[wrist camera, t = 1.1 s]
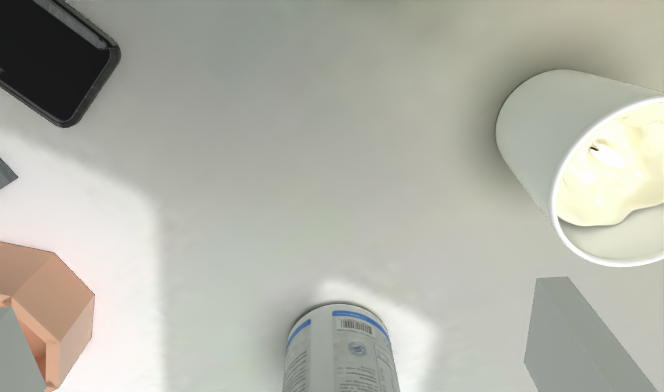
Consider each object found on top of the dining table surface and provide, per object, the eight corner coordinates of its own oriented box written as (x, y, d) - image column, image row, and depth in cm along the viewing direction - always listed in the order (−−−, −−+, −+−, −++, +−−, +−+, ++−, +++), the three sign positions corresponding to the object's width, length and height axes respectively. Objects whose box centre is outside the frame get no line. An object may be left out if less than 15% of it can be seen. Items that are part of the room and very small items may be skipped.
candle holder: (636, 136, 36) (769, 205, 25) (521, 206, 39) (597, 296, 28) (582, 28, 33) (707, 54, 22) (460, 112, 35) (518, 172, 25)
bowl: (-79, 283, 41) (-140, 329, 36) (23, 220, 39) (-27, 260, 33) (24, 372, 46) (-17, 426, 40) (121, 322, 43) (91, 371, 38)
